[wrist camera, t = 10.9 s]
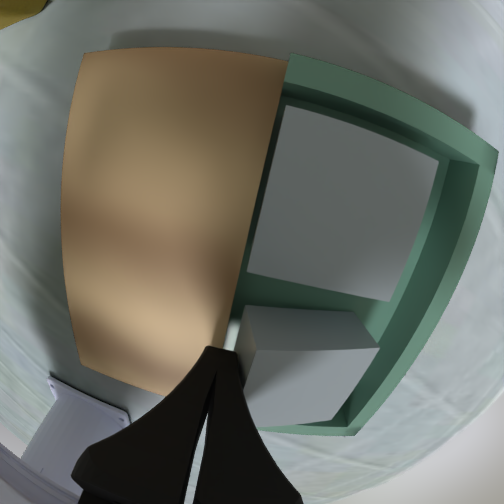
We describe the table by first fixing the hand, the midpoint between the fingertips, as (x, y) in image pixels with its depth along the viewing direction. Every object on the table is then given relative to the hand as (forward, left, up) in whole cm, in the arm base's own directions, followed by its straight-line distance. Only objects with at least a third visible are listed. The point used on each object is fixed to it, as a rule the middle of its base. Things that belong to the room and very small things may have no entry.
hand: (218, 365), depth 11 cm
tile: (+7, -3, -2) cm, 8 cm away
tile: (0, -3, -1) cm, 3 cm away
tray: (+3, -4, -2) cm, 6 cm away
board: (+3, +4, -2) cm, 6 cm away
